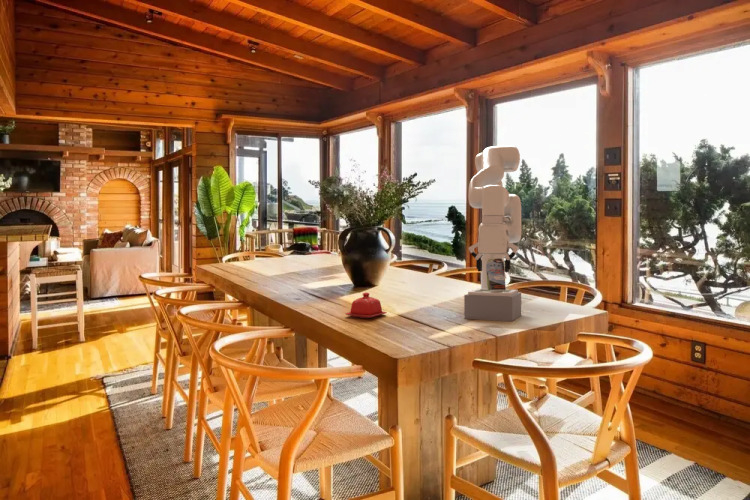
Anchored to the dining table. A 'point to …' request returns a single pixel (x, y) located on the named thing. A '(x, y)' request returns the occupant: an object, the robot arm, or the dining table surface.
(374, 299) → the butter dish
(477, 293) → the stand
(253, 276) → the dining table surface
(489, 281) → the beverage can
